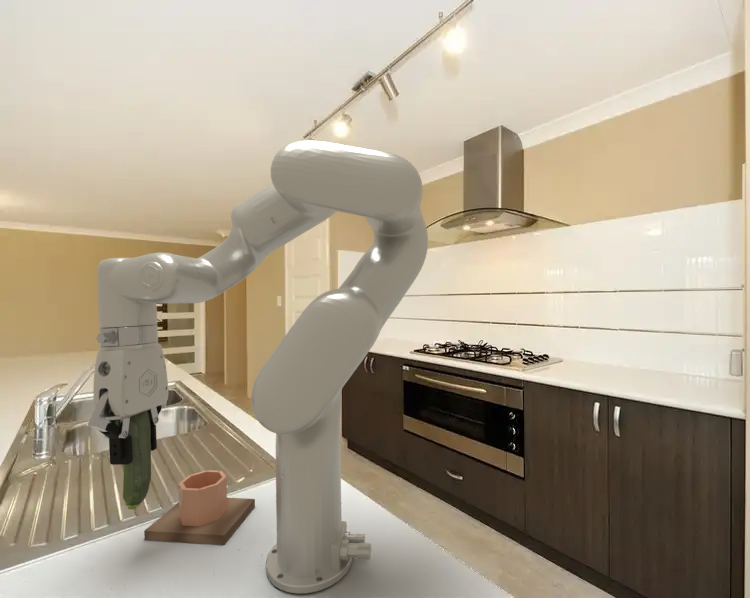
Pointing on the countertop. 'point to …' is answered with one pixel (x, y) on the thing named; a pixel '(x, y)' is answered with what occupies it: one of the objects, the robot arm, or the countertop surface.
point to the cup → (202, 498)
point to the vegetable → (138, 461)
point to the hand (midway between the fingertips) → (134, 455)
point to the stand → (205, 534)
